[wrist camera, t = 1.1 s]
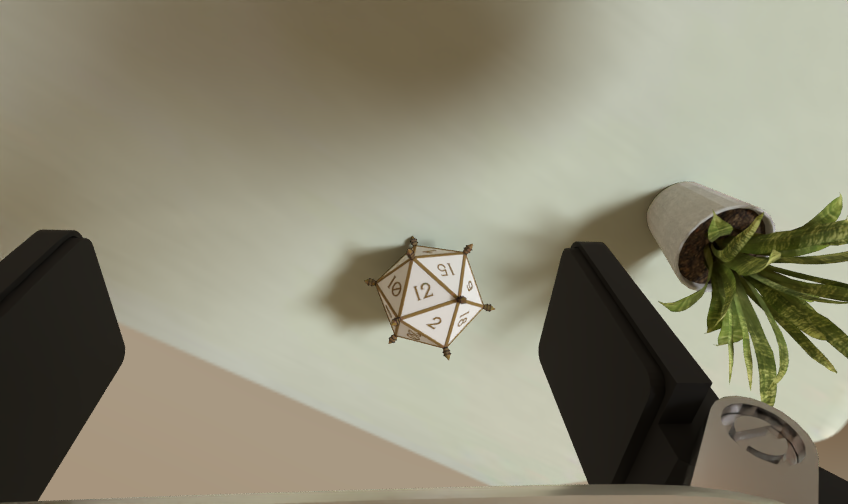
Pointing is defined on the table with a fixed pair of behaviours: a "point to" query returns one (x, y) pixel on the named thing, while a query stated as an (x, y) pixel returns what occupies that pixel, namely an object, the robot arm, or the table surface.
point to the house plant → (750, 272)
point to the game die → (430, 295)
